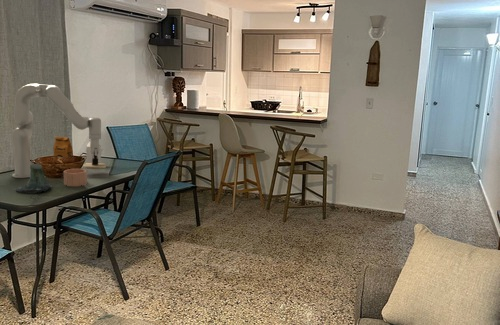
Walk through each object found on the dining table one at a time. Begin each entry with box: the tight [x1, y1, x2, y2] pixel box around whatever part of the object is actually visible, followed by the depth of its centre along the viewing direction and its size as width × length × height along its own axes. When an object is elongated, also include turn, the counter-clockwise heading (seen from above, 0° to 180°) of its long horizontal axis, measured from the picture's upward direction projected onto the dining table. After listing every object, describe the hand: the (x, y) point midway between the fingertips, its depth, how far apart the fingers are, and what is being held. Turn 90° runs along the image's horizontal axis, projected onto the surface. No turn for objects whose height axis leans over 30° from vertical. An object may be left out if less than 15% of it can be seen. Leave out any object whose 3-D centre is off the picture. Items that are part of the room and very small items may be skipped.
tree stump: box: [15, 163, 53, 194], centre depth 252 cm, size 18×20×18 cm
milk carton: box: [85, 139, 102, 163], centre depth 318 cm, size 7×7×19 cm
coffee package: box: [52, 136, 74, 157], centre depth 309 cm, size 10×12×22 cm
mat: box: [87, 170, 111, 179], centre depth 294 cm, size 16×16×1 cm
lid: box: [82, 157, 108, 170], centre depth 292 cm, size 15×15×6 cm
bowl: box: [63, 168, 88, 187], centre depth 270 cm, size 13×13×8 cm
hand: (95, 163), depth 293 cm, fingers closed on lid, 4 cm apart
